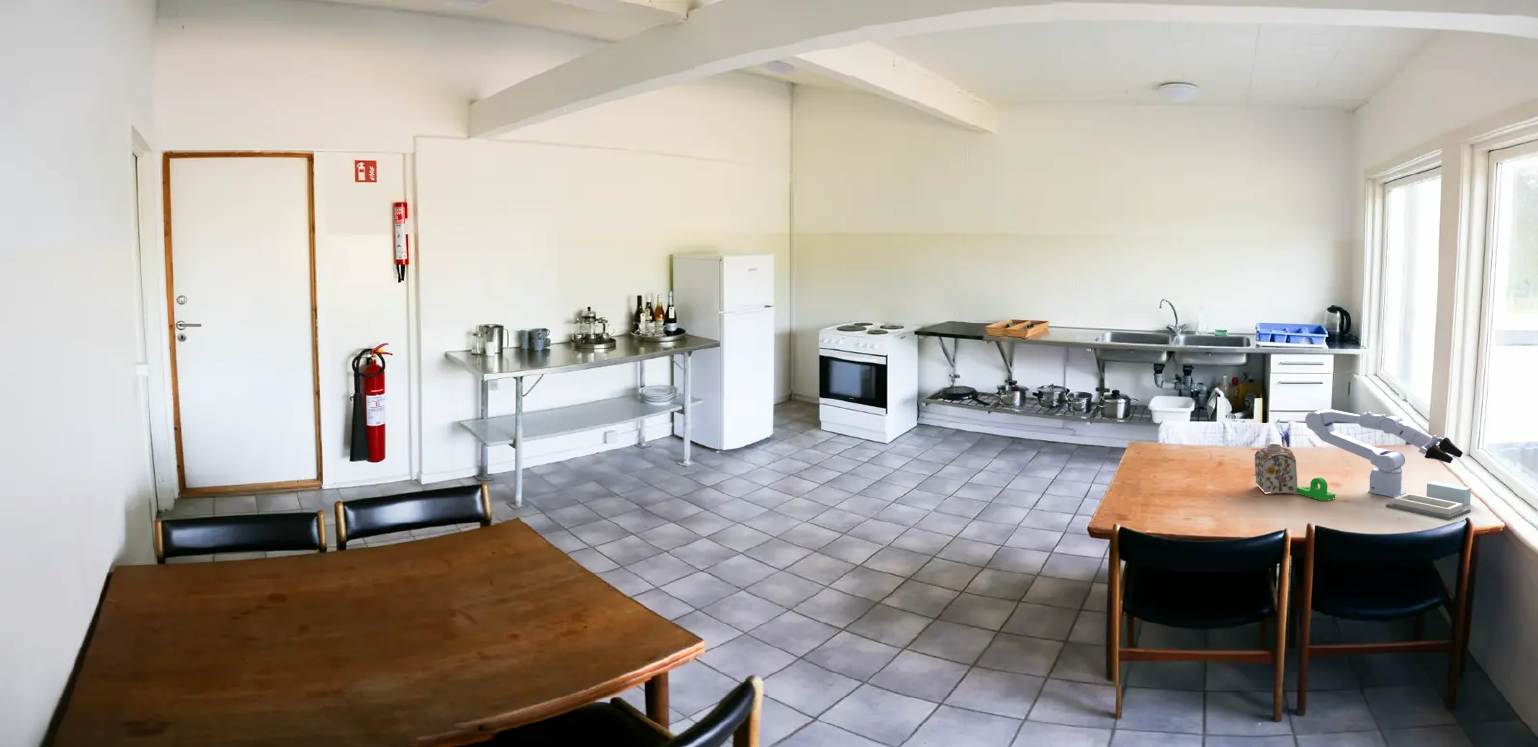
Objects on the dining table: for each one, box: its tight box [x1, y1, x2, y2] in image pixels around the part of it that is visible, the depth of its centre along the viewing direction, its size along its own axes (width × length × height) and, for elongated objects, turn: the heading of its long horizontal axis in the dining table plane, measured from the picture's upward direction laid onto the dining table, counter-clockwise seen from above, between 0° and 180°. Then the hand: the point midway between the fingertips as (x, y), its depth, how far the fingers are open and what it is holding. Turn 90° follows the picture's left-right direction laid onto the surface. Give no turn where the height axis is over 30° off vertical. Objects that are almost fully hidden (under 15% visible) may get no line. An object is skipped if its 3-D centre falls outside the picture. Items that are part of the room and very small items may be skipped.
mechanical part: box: [1296, 477, 1336, 502], centre depth 336 cm, size 12×6×8 cm, turn 16°
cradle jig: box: [1385, 492, 1472, 520], centre depth 314 cm, size 20×14×3 cm
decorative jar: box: [1254, 443, 1298, 494], centre depth 345 cm, size 12×12×18 cm
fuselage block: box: [1426, 480, 1472, 507], centre depth 321 cm, size 12×4×6 cm, turn 28°
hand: (1456, 458), depth 314 cm, fingers open, 7 cm apart
